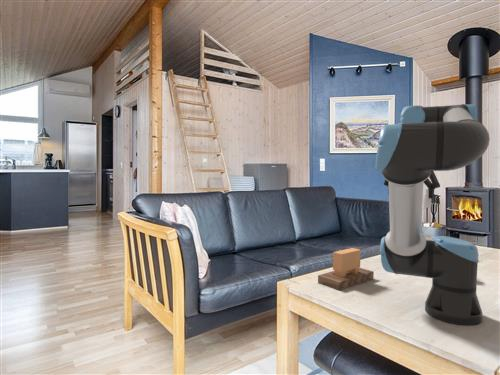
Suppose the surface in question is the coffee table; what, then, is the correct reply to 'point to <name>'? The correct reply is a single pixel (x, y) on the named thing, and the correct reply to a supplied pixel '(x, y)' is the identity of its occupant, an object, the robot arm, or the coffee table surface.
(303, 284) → the coffee table surface
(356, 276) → the slotted wooden base
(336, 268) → the clip
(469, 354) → the coffee table surface
